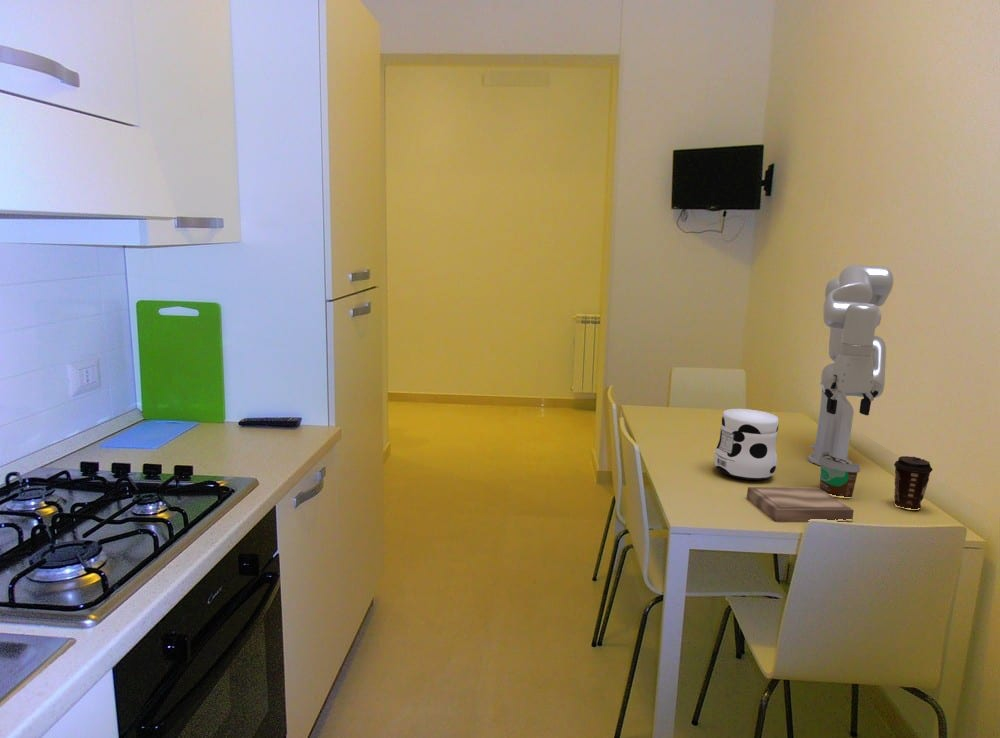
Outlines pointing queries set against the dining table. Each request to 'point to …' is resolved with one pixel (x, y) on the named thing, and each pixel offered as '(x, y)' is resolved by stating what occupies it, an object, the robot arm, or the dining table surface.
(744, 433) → the milk container
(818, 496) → the board
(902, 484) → the coffee cup
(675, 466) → the dining table surface
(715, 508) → the dining table surface
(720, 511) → the dining table surface
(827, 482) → the food container
